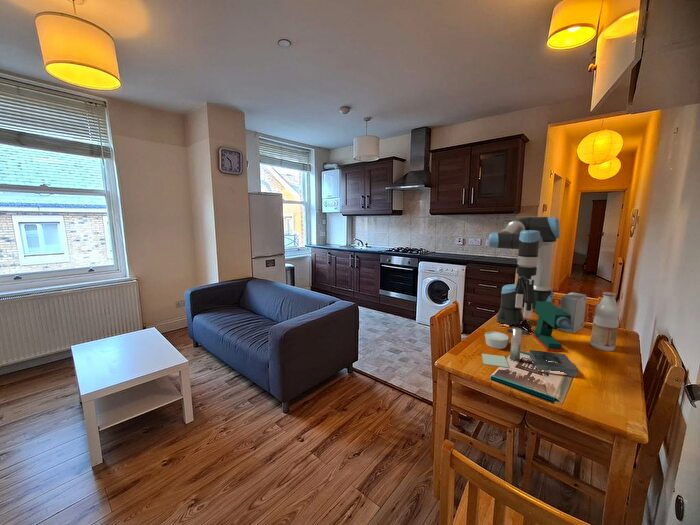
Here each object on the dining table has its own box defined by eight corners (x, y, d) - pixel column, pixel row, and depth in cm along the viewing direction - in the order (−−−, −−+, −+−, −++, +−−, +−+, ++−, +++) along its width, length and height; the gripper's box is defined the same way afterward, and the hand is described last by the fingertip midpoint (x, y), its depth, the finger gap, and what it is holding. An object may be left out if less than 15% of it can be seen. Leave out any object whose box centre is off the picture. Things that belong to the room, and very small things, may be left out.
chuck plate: (529, 356, 137) (529, 349, 137) (564, 361, 133) (564, 354, 132) (537, 371, 124) (538, 364, 123) (576, 377, 120) (577, 369, 119)
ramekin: (494, 338, 157) (494, 329, 156) (513, 347, 147) (514, 337, 146) (479, 343, 152) (479, 333, 151) (498, 352, 142) (498, 342, 142)
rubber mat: (481, 354, 140) (481, 353, 140) (504, 357, 137) (504, 356, 137) (483, 364, 131) (483, 363, 131) (508, 367, 128) (508, 367, 128)
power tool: (579, 366, 128) (584, 323, 125) (561, 365, 129) (566, 322, 126) (546, 336, 159) (549, 301, 155) (532, 335, 160) (535, 300, 157)
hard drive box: (568, 323, 176) (571, 291, 173) (583, 327, 170) (587, 294, 167) (557, 329, 168) (561, 296, 164) (573, 333, 162) (577, 299, 158)
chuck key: (504, 356, 138) (506, 326, 135) (523, 358, 135) (526, 328, 133) (505, 360, 134) (508, 329, 132) (525, 362, 132) (528, 331, 129)
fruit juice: (593, 349, 144) (600, 294, 139) (588, 341, 152) (594, 289, 147) (617, 352, 139) (626, 296, 135) (611, 345, 148) (619, 291, 143)
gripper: (510, 261, 140) (507, 303, 143) (525, 270, 116) (521, 321, 120) (528, 261, 138) (524, 304, 141) (547, 271, 114) (541, 322, 118)
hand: (522, 312), depth 130 cm, fingers open, 13 cm apart
